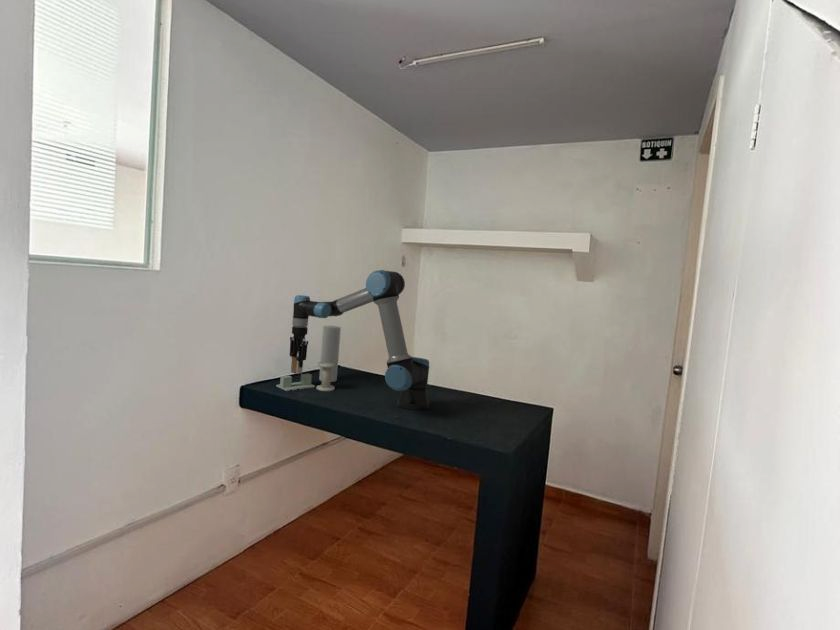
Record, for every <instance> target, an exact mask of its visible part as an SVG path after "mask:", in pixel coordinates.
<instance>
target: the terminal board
mask: <svg viewBox="0 0 840 630" xmlns="http://www.w3.org/2000/svg"><path fill="white" fill-rule="evenodd" d="M312 378H313V374H311V373H308V372H307V373H300V381H296V382H292V381H293V377H292V376H291V375H282V376H281V375H280V382H279V384H276V387H277V388H279V389H281V390H284V391H286V392H290V390H292V391H298V390H297V389H299V390H305V388H306V389H312V388H315V387H316V385H314V384H312Z"/></svg>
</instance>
